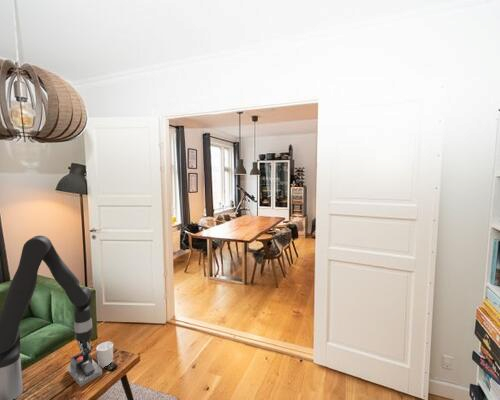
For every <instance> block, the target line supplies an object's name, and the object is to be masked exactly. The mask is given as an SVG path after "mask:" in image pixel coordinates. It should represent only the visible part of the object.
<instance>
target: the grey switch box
mask: <svg viewBox="0 0 500 400" xmlns="http://www.w3.org/2000/svg"><path fill="white" fill-rule="evenodd" d="M88 355H89V359H88V360H89V361H90V362H91V364H92V365H93V367H94V369H95V372H93V373H91V374H89V375H86V373H85V372H84V370H83V368H82V367H81V364H82V363H84V362H86V361H88V360H86V361H83V360H81V361H79V362H77V361H76V359H77V358H78V357H80V356H83V355H82V353H81V352H78V353H77V354H75V355H72V356H70V357H69V361H70V364H69V365H67V372H68V374H70V376H71V377H72V378H73V380H74V381H75V382H76V384H77V385H78V386H79V387H80V388H81V387H83V386H85V385H86V384H88V383H90V382H92V381H93V380H95V379H98V377H101V376H102V375H103V369H102V368H101V367H100V366H99V365H98V362H96V361H94V359H93V355H91V353H89V354H88Z"/></svg>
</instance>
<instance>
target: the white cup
mask: <svg viewBox="0 0 500 400" xmlns="http://www.w3.org/2000/svg"><path fill="white" fill-rule="evenodd" d="M96 358H97V364H98V365H99V366H100V367H101V368H103V369H104V367H105V366H107V365H108V364H110V363H111V362H112V363H113V360H114V359H113V358H114V342H112V341H109V340H107V341H104V342H102V343H99V344H98V345H97V346H96ZM105 368H106V367H105Z"/></svg>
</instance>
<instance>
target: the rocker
mask: <svg viewBox="0 0 500 400" xmlns="http://www.w3.org/2000/svg"><path fill="white" fill-rule="evenodd" d="M81 367H82V368H83V370H84V372H85V373H86V375H89V374H91V373H93V372H95V369H94V367H93V365H92V364H91V362H90V361H89V360H88V361H86V362H84V363H82V364H81Z"/></svg>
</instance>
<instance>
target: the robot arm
mask: <svg viewBox="0 0 500 400" xmlns="http://www.w3.org/2000/svg"><path fill="white" fill-rule="evenodd" d="M42 261H43V262H44V263H45V265H46V266H47V269H49V272H50V274H51V275H52V277H53V279H54V280H55V281H56V283H57V284H58V286H60V287H61V289H63V291H64V293H65V294H66V296H67V299H68V300H69V302H70V303H71V304H72V305H74V306H75V310H74V314H73V317H74V318H73V319H74V337H75V341H76V342H77V345H78V347H79V351H80V353H82V355H83V361H86V360H88V359H89V355H88V354H91V352H92V350H93V347H94V346H93V345H91V337H92V336H93V335H94V330H93V329H94V327H93V319H92V309H91V306H92V305H91V303H92V292H91V290H90V289H89V287H87V286H81V285H80V280H79V279H78V278H77V276H76V275H75V273H74V272H73V271H72V270H71V269H70V268H69V266H67V264H66V263H65V262H64V260H63V259H62V258H61V256H60V255H59V253H58V251H57V250H56V247H54V245H53V243H52V241H51V240H50V239H49V238H48V237H47V236H45V235H35V236H33V237H31V238H29V239H28V240H27V241H25V243H24V244H23V246H22V250H21V255H20V259H19V262H18V266H17V269H16V271H15V274H14V275H13V277H12V280H11V281H10V284H9V287H8V290H7V293H6V295H5V299H4V302H3V305H2V309H1V312H0V400H13V399H15V400H16V399H18V398H19V397H20V396H21V395H22V393H23V391H24V389H23V387H24V386H23V377H22V375H23V374H22V363H21V361H22V360H21V331H20V328H19V327H20V324H21V321H22V319H23V317H24V315H25V313H26V311H27V310H28V307H29V306H30V302H31V301H32V298H33V296H34V293H35V290H36V288H37V287H36V286H37V282H38V272H39V269H40V266H41V264H42Z"/></svg>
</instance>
